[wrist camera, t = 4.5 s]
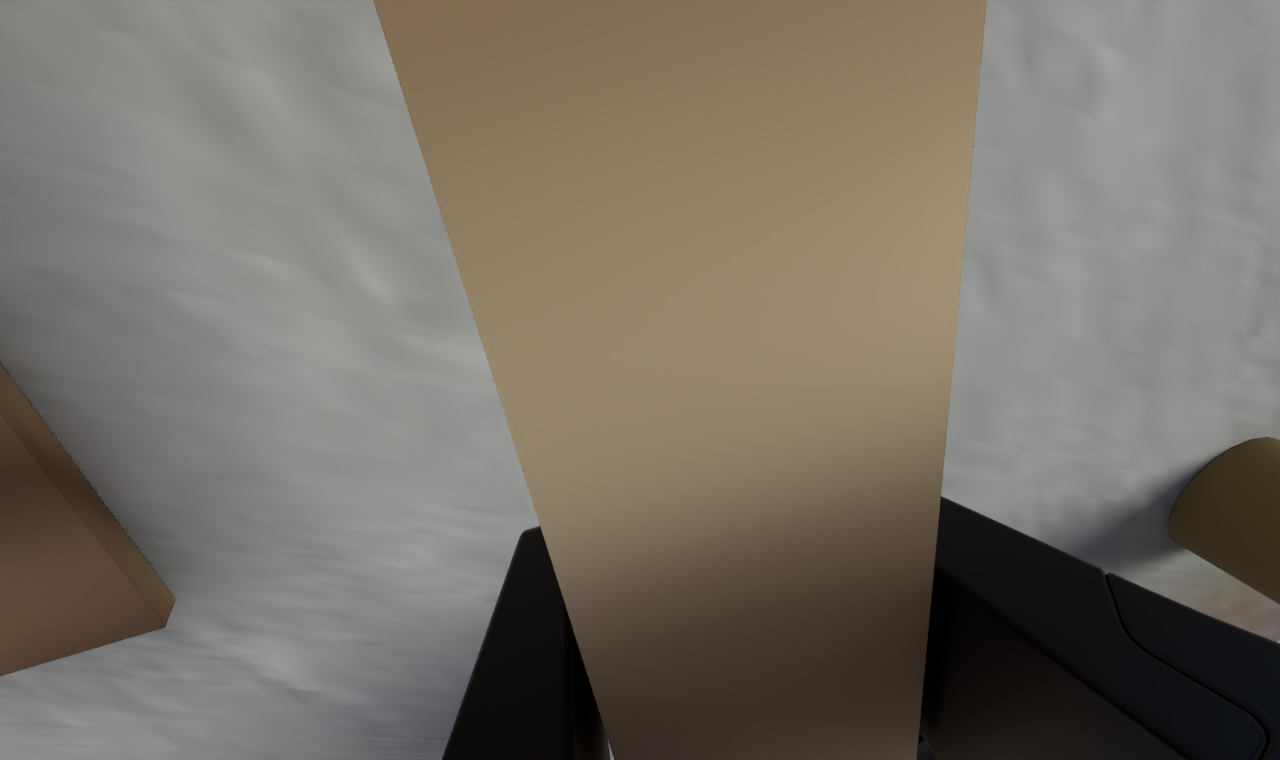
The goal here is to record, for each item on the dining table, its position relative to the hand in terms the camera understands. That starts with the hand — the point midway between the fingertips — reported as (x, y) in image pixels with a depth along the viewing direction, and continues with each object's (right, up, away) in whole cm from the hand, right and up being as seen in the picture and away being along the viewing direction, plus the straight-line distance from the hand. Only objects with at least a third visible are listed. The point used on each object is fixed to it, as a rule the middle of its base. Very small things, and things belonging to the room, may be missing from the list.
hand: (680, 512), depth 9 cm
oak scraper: (0, +1, +1) cm, 1 cm away
